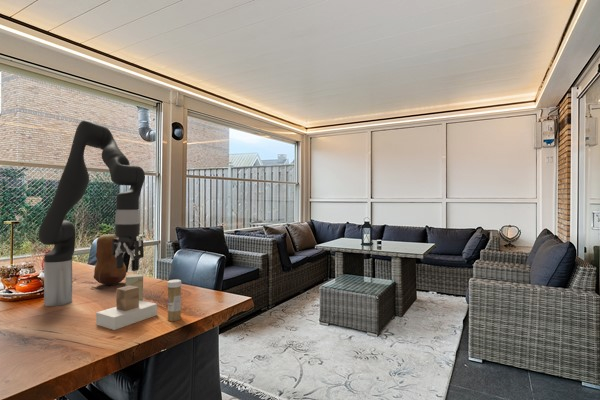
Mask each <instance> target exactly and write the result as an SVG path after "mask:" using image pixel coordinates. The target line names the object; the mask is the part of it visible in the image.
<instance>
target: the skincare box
mask: <svg viewBox="0 0 600 400" xmlns="http://www.w3.org/2000/svg"><path fill="white" fill-rule="evenodd" d="M125 286H136V287H139V300H142V301H144V274H143V273H141V274H129V275H127V274H126V277H125Z"/></svg>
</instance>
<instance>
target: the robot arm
mask: <svg viewBox="0 0 600 400" xmlns="http://www.w3.org/2000/svg"><path fill="white" fill-rule="evenodd" d="M74 132H75V133H74V136H73V139H72V140H73V141H72V144H71V149H70V151H69V155H68V158H67V160H66V161H67V162H66V164H65V167H64V169H63V171H62V174H61V176H60V179H59V182H58V185H57V187H56V191H55V193H54V196H53V199H52V201H51V204H50V206H49V208H48V211H47V213H46V215H45V216H44V217H43V218H44V219H43V220H42V222H41V223H40V226H39V230H38V239H39V241H40V242H41V244H43V245H45V246H46V245H47V246H52V245H54V247H52V249H51V250H50V251H48V252H46V253H45V254H44V256H43V289H44V290H43V298H44V299H43V306H45V307H58V306H65V305H68V304H70V303H72V302H73V255H74V253H75V250H76V249H75V248H76V247H75V246H76V245H75V244H76V228H75V225H74V224H73V222H71V221H69V220H65V219H66V216H67V214H68V213H69V212H70V211H71V210H72V208H74V207H75V205H76V204H78V203H79V202H80V200H81V199H82V198H83V197H84V195H85V193H86V191H87V188H88V186H89V182H90V175H89V172H88V169H87V165H86V162H85V157H84V156H85V149H86V147H91V148H95V149H101V150H102V151H101V159H102V161H103V163H104V164H105V166H106V167H107V168H108V170H109V174H110V180H111V181H112V183H114V184H115V185H118V186H130V187H129V188H128V190H127V191H123V192H119V193H117V195H116V203H115V206H116V209H115V216H114V217H115V218H114V219H115V221H114V222H115V223H114V225H115V228H114V229H115V231H114V232H115V233H114V234H115V236H116V237H119V238H115V239H113V240H112V255H115V257H116V268H123V262H124V255H125V253H127V254H128V255H129V256H130V259H131V265H130V266H131V271H132V272H136V271H139V267H140V259H143V258H144V240H142V239H141V240H138V239H137V237H138V236H140V235H141V234H140V231H141V229H140V226H141V225H140V224H141V223H140V221H141V217H140V196H141V192H142V189H143V185H144V183H145V180H146V174H145V171H144V169H143V168H142V167H141V166H139V165H131V164H130V160H129V159H128V157H126V155H125V154H124V153H123V152H122V150H121V149H120V148H119V146H118V144H117V142H116V140H115V138H114V136H113V134H112V132H111V131H110V129H109V128H108V127H106V126H104V125H101V124H98V123H96V122H95V123H94V122H92V121H89V120H85V119H83V120H82V121H80V123H78V125H77V127H76V130H75V131H74ZM116 248H117V249H116ZM115 249H116V252H115Z"/></svg>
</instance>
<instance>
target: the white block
mask: <svg viewBox="0 0 600 400" xmlns="http://www.w3.org/2000/svg"><path fill="white" fill-rule="evenodd" d="M156 316H158V303H154V302H151V301H145V300H143V301H142V300H139V307H138V308H134V309H131V310H128V311H123V310H119V309H116V306H113V307H110V308H107V309H104V310H103V309H102V310H100V311H96V312H95V325H97V326H99V327H102V328H106V329H110V330H113V331H115V330H119V329H121V328H124V327H127V326H130V325H133V324H135V323H139V322H141V321H144V320H147V319H149V318H152V317H156Z"/></svg>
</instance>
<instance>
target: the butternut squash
mask: <svg viewBox="0 0 600 400" xmlns="http://www.w3.org/2000/svg"><path fill="white" fill-rule="evenodd" d="M115 238H119V237H116V236H115V233H113V234H111V233H109V234H108V233H107V234H103V235H100V236H99V237H98V238H97V240H96V252H95V258H96V264H95V267H94V271H93V272H94V273H93V278H94V280H95V281H96V282H97V283H99V284H100V285H107V284H108V286H115V285H114V284H116V285H117V284H119V283H122V281H124V280H125V279H126V275H127V267H126V265H125V262H124V261H123V268H116V257H115V255H112V240H113V239H115ZM116 249H117V248H116ZM116 249H115V252H116Z"/></svg>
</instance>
